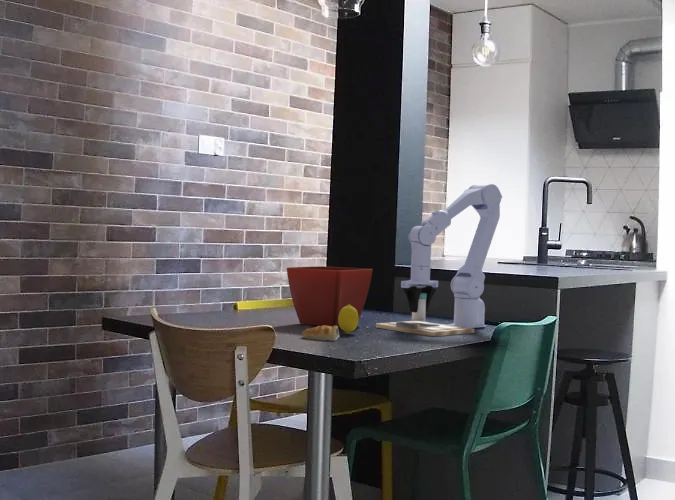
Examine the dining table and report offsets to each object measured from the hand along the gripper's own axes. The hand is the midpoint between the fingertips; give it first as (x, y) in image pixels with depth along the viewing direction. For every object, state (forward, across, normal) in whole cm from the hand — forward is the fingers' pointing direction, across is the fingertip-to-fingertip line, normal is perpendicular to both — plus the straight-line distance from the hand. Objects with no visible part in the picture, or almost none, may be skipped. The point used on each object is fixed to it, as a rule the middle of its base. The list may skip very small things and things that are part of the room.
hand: (418, 311), depth 242 cm
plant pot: (+5, +20, -18) cm, 27 cm away
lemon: (+5, +30, +1) cm, 30 cm away
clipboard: (+5, +3, +5) cm, 7 cm away
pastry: (+5, +43, +5) cm, 43 cm away
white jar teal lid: (+2, 0, 0) cm, 2 cm away
